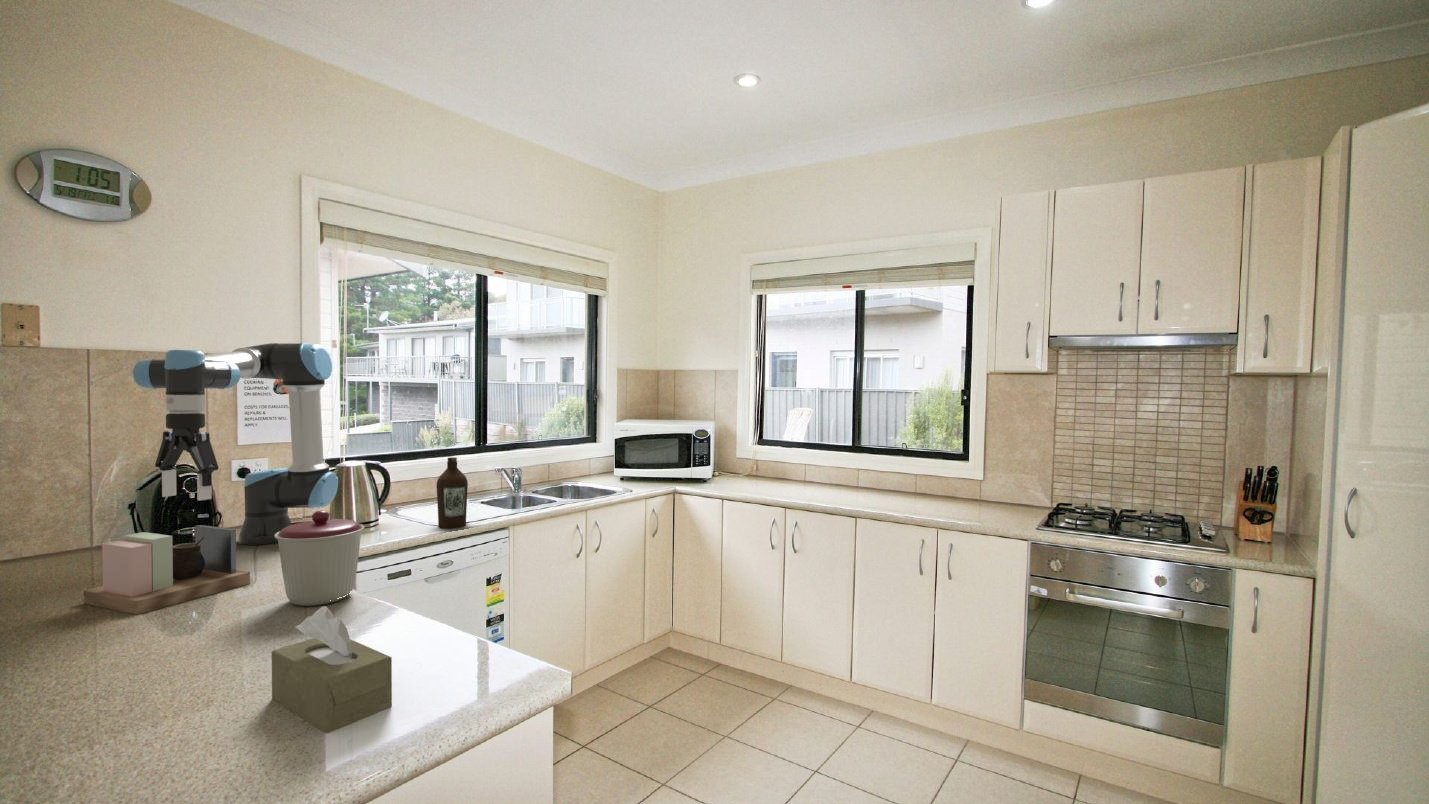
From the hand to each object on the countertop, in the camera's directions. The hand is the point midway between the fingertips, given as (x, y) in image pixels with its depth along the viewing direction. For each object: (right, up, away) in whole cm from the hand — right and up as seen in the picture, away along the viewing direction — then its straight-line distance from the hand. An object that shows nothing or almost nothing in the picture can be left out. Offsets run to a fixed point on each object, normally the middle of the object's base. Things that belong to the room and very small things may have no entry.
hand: (186, 497), depth 158 cm
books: (-3, -20, -9) cm, 22 cm away
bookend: (+2, -19, +6) cm, 21 cm away
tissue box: (+70, -24, -57) cm, 94 cm away
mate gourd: (0, -20, 0) cm, 20 cm away
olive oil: (+35, -22, +75) cm, 86 cm away
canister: (+38, -23, -7) cm, 45 cm away
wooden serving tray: (-1, -23, -3) cm, 23 cm away
